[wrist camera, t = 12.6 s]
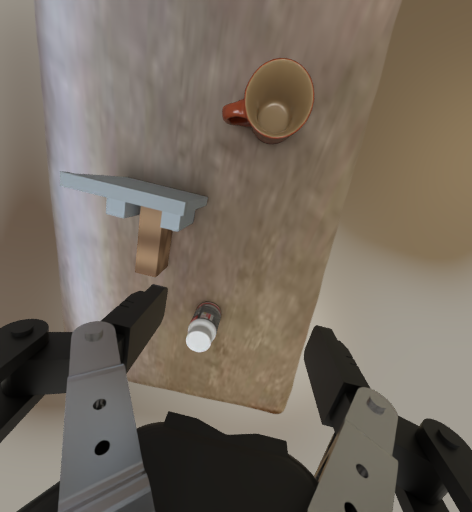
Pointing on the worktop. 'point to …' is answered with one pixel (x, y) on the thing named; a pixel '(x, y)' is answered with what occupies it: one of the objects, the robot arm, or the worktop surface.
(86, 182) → the grey two-legged bench
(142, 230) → the bed rail
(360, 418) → the robot arm
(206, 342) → the pill bottle
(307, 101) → the mug
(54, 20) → the worktop surface
